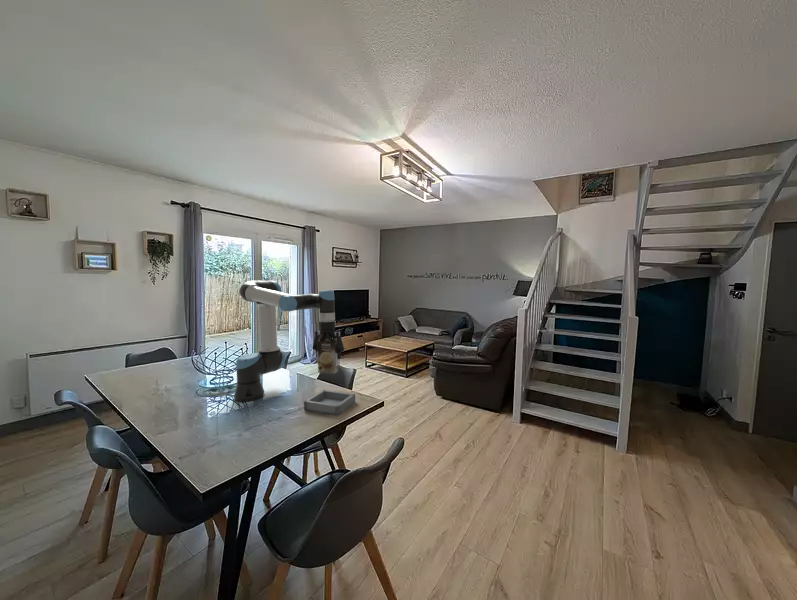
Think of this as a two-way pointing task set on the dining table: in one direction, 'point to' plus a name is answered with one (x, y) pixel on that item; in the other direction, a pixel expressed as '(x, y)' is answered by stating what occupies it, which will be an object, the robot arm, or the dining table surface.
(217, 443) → the dining table surface
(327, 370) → the coffee box
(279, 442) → the dining table surface
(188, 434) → the dining table surface
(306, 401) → the gray tray
